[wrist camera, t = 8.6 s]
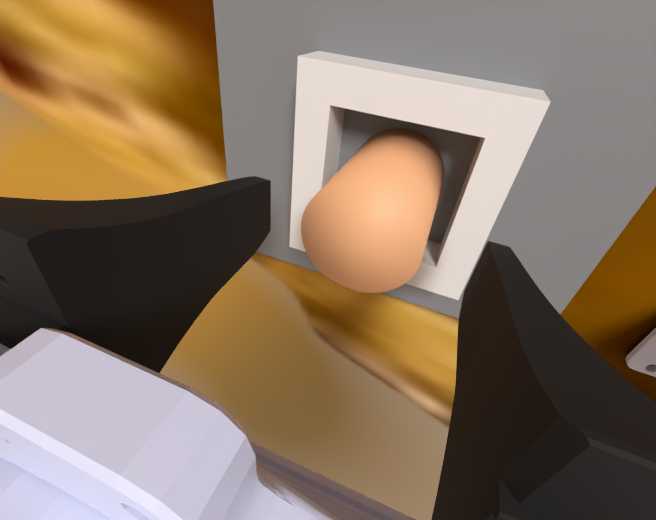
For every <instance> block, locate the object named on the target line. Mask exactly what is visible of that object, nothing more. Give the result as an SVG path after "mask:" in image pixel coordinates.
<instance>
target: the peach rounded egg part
mask: <svg viewBox="0 0 656 520" xmlns="http://www.w3.org/2000/svg"><path fill="white" fill-rule="evenodd" d="M444 175H445V169H444V162H443V159H442V156H441V154H440V152H439V150H438V149H437V147H436V146H435V144H434V143H433V142H432V141H431V140H430V139H428V138H427V137H426V136H424V135H423V134H421V133H419V132H417V131H415V130H411V129H407V128H390V129H386V130H383V131H381V132H378V133H377V134H375V135H373V136H372V137H371V138H369V139H368V140H367V141H366V142H365V143H364V144H363V145H362V147H361V148H360V149H359V150H358V151H357V152H356V153H355V154H354V155H353V156H352V157H351V158H350V159H349V160H348V161H347V162H346V163H345V165H344V166H343V167H342V168H341V169H340V170H339V171H338V172H337V173H336V174H335V175H334V176H333V177H332V178H331V179H330V180H329V181H328V183H327V184H326V185H325V186H324V187H323V188H322V189H321V190H320V191H319V192H318V193H317V194H316V195H315V196H314V197H313V198H312V199H311V201H310V202H309V203H308V205H307V206H306V208H305V210H304V213H303V216H302V220H301V237H302V242H303V245H304V248H305V250H306V253H307V254H308V256H309V258H310V259H311V261H312V262H313V264H314V265H315V266H316V267H317V268H318V270H319V271H321V272H322V273H323V274H324V275H325V276H326V277H328V278H329V279H330V280H332V281H333V282H335V283H337V284H339V285H341V286H343V287H345V288H348V289H350V290H354V291H358V292H364V293H380V292H386V291H390V290H393V289H395V288H398V287H400V286H401V285H403V284H405V283H406V282H407V281H408V280H410V279H411V278H412V276H413V275H414V274H415V273H416V271H417V270H418V268H419V266H420V263H421V261H422V257H423V254H424V250H425V247H426V243H427V239H428V236H429V232H430V229H431V225H432V221H433V218H434V214H435V211H436V207H437V204H438V200H439V196H440V193H441V189H442V186H443V182H444Z"/></svg>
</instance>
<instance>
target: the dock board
mask: <svg viewBox="0 0 656 520" xmlns="http://www.w3.org/2000/svg"><path fill="white" fill-rule="evenodd" d="M213 4H214V17H215V29H216V42H217V54H218V67H219V80H220V92H221V105H222V118H223V130H224V143H225V155H226V168H227V181H229V180H234V179H239V178H244V177H251V176H256V177H260V178H264V179H267V180H271V231H270V232H269V234H268V235H267V237H266V238H265V240H264V241H263V243H262V244H261V246H260V247H259V248H258V250H257V251H256V252H257V253H260V254H264V255H267V256H270V257H273V258H276V259H279V260H282V261H285V262H288V263H291V264H294V265H297V266H300V267H303V268H306V269H309V270H312V271H315V272H318V273H321V274H323V273H322V272H321V271H319V270H318V268H317V267H316V266H315V265H314V264H313V262H312V261H311V259H310V258H309V256H308V254H307V253H306V250H305V248H304V245H303V242H302V237H301V220H302V216H303V213H304V210H305V208H306V206H307V205H308V203H309V202H310V201H311V199H312V198H313V197H314V196H315V195H316V194H317V193H318V192H319V191H320V190H321V189H322V188H323V187H324V186H325V185H326V184H327V183H328V181H329V180H330V179H331V178H332V177H333V176H334V175H335V174H336V173H337V172H338V171H339V170H340V169H341V168H342V167H343V166H344V165H345V163H346V162H347V161H348V160H349V159H350V158H351V157H352V156H353V155H354V154H355V153H356V152H357V151H358V150H359V149H360V148H361V147H362V145H363V144H364V143H365V142H366V141H367V140H368V139H369V138H371V137H372V136H373V135H375V134H377V133H378V132H381V131H383V130H386V129H390V128H407V129H411V130H415V131H417V132H419V133H421V134H423V135H424V136H426V137H427V138H428V139H430V140H431V141H432V142H433V143H434V144H435V146H436V147H437V149H438V150H439V152H440V154H441V156H442V159H443V162H444V169H445V175H444V182H443V186H442V189H441V193H440V196H439V200H438V204H437V207H436V211H435V214H434V218H433V221H432V225H431V229H430V232H429V236H428V239H427V243H426V247H425V250H424V254H423V257H422V261H421V263H420V266H419V268H418V270H417V271H416V273H415V274H414V275H413V276H412V278H411V279H410V280H408V281H407V282H406V283H405V284H403V285H401V286H400V287H398V288H395V289H393V290H390V291H386V292H380V293H382V294H385V295H388V296H391V297H394V298H397V299H400V300H403V301H406V302H409V303H412V304H415V305H419V306H422V307H425V308H428V309H431V310H434V311H437V312H440V313H443V314H446V315H449V316H452V317H455V318H458V319H459V315H460V309H461V304H462V299H463V294H464V291H465V288H466V286H467V284H468V282H469V280H470V278H471V276H472V273H473V271H474V269H475V267H476V265H477V263H478V261H479V259H480V256H481V254H482V252H483V250H484V248H485V246H486V244H487V242H488V241H491V242H494V243H498V244H501V245H505V246H509V247H510V248H511V249H512V250H513V252H514V253H515V255H516V256H517V258H518V259H519V261H520V262H521V264H522V265H523V266H524V268H525V269H526V271H527V272H528V274H529V275H530V277H531V278H532V280H533V281H534V282H535V284H536V285H537V286H538V288H539V289H540V290H541V292H542V293H543V294H544V296H545V297H546V298H547V300H548V301H549V302H550V303H551V304H552V306H553V307H554V308H555V309H556V310H557V312H558V313H559V314H561V313H562V311H563V310H564V309H565V307H566V306H567V305H568V303H569V302H570V301H571V299H572V298H573V297H574V295H575V294H576V293H577V291H578V290H579V289H580V287H581V286H582V285H583V283H584V282H585V280H586V279H587V278H588V276H589V275H590V274H591V272H592V271H593V270H594V268H595V267H596V266H597V264H598V263H599V262H600V260H601V259H602V258H603V256H604V255H605V254H606V252H607V251H608V250H609V248H610V247H611V246H612V244H613V243H614V241H615V240H616V239H617V237H618V236H619V235H620V233H621V232H622V231H623V229H624V228H625V227H626V225H627V224H628V223H629V221H630V220H631V219H632V217H633V216H634V215H635V213H636V212H637V211H638V209H639V208H640V206H641V205H642V204H643V202H644V201H645V200H646V198H647V197H648V196H649V194H650V193H651V192H652V190H653V189H654V188H655V186H656V0H213Z"/></svg>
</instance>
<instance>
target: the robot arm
mask: <svg viewBox="0 0 656 520" xmlns="http://www.w3.org/2000/svg"><path fill="white" fill-rule="evenodd" d="M270 231H271V180H267V179H264V178H260V177H256V176H251V177H244V178H239V179H234V180H229V181H225V182H221V183H216V184H212V185H208V186H204V187H199V188H194V189H189V190H184V191H179V192H175V193H169V194H163V195H157V196H149V197H141V198H131V199H114V200H98V201H58V200H57V201H56V200H36V199H21V198H7V197H0V520H415V519H413V518H411V517H409V516H407V515H404V514H402V513H400V512H398V511H396V510H394V509H392V508H390V507H388V506H386V505H383V504H382V503H379V502H377V501H375V500H373V499H371V498H369V497H367V496H365V495H363V494H360V493H358V492H356V491H354V490H352V489H350V488H348V487H345V486H344V485H342V484H339V483H337V482H335V481H333V480H331V479H329V478H327V477H325V476H323V475H321V474H318V473H316V472H314V471H312V470H310V469H308V468H306V467H304V466H301V465H299V464H297V463H295V462H293V461H291V460H289V459H287V458H285V457H283V456H281V455H278V454H276V453H274V452H272V451H270V450H268V449H266V448H264V447H262V446H259V445H257V444H255V443H253V442H251V441H250V439H249V437H248V435H247V432H246V430H245V428H244V427H243V426H241V424H240V423H239V422H238V421H236V420H235V418H234V417H233V416H231V415H230V414H229V413H228V412H227V411H226V410H225V409H224V408H223V407H222V406H221V405H219V404H217V403H216V402H214V401H212V400H211V399H209V398H207V397H206V396H204V395H202V394H201V393H199V392H198V391H196V390H194V389H192V388H190V387H188V386H186V385H184V384H181V383H179V382H177V381H175V380H173V379H170V378H168V377H166V376H164V375H161V374H159V373H160V371H161V370H162V368H163V367H164V365H165V363H166V362H167V360H168V359H169V357H170V356H171V354H172V353H173V351H174V350H175V348H176V347H177V345H178V343H179V342H180V341H181V339H182V338H183V337H184V335H185V334H186V332H187V331H188V329H189V328H190V327H191V325H192V324H193V322H194V321H195V320H196V318H197V317H198V316H199V314H200V313H201V312H202V310H203V309H204V308H205V307H206V305H207V304H208V303H209V301H210V300H211V299H212V298H213V297H214V295H215V294H216V293H217V292H218V291H219V290H220V289H221V288H222V287H223V286H224V285H225V284H226V283H227V282H228V281H229V280H230V278H232V276H233V275H234V274H235V273H236V272H237V271H238V270H239V269H240V268H241V267H242V266H243V265H244V264H245V263H246V262H247V261H248V260H249V259H250V258H251V257H252V256H253V254H254V253H255V252H256V251H257V250H258V248H259V247H260V246H261V244H262V243H263V241H264V240H265V238H266V237H267V235H268V234H269V232H270ZM626 363H627V365H628V367H629V368H631V369H633V370H635V371H638V372H641V373H645V374H648V375H651V376H654V377H656V328H655V329H654V330H653V331H652V332H651V333H650V334H649V335H647V336H646V337H645V338H644V339H643V340H642V341H641V342H640V343H639V344H638V345H637V346H636V347H635V348H634V349H633V350H632V351H631V352H630V353H629V354H628V355H627V356H626ZM648 365H653V366H648ZM432 520H656V402H655V401H654V400H653V399H651V398H650V397H649V396H647V395H646V394H645V393H644V392H642V391H641V390H640V389H639V388H637V387H636V386H635V385H634V384H632V383H631V382H630V381H629V380H627V379H626V378H625V377H624V376H623V375H622V374H620V373H619V372H618V371H617V370H616V369H615V368H614V367H612V366H611V365H610V364H609V363H608V362H607V361H605V360H604V359H603V358H602V357H601V356H600V355H599V354H598V353H597V352H596V351H595V350H593V349H592V348H591V347H590V346H589V345H588V344H587V343H586V342H585V341H584V340H583V339H582V338H581V337H580V336H579V335H578V334H577V333H576V332H575V331H574V330H573V329H572V328H571V326H570V325H569V324H568V323H567V322H566V321H565V320H564V319H563V318H562V316H561V315H560V314H559V313H558V312H557V310H556V309H555V308H554V307H553V306H552V304H551V303H550V302H549V301H548V300H547V298H546V297H545V296H544V294H543V293H542V292H541V290H540V289H539V288H538V286H537V285H536V284H535V282H534V281H533V280H532V278H531V277H530V275H529V274H528V272H527V271H526V269H525V268H524V266H523V265H522V264H521V262H520V261H519V259H518V258H517V256H516V255H515V253H514V252H513V250H512V249H511V248H510V247H509V246H505V245H501V244H498V243H494V242H491V241H488V242H487V244H486V246H485V248H484V250H483V252H482V254H481V256H480V259H479V261H478V263H477V265H476V267H475V269H474V271H473V273H472V276H471V278H470V280H469V282H468V284H467V286H466V288H465V291H464V294H463V299H462V304H461V309H460V315H459V324H458V346H457V371H456V387H455V396H454V402H453V409H452V415H451V421H450V427H449V433H448V438H447V444H446V450H445V455H444V461H443V466H442V471H441V476H440V482H439V487H438V492H437V497H436V501H435V506H434V511H433V515H432Z"/></svg>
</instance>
